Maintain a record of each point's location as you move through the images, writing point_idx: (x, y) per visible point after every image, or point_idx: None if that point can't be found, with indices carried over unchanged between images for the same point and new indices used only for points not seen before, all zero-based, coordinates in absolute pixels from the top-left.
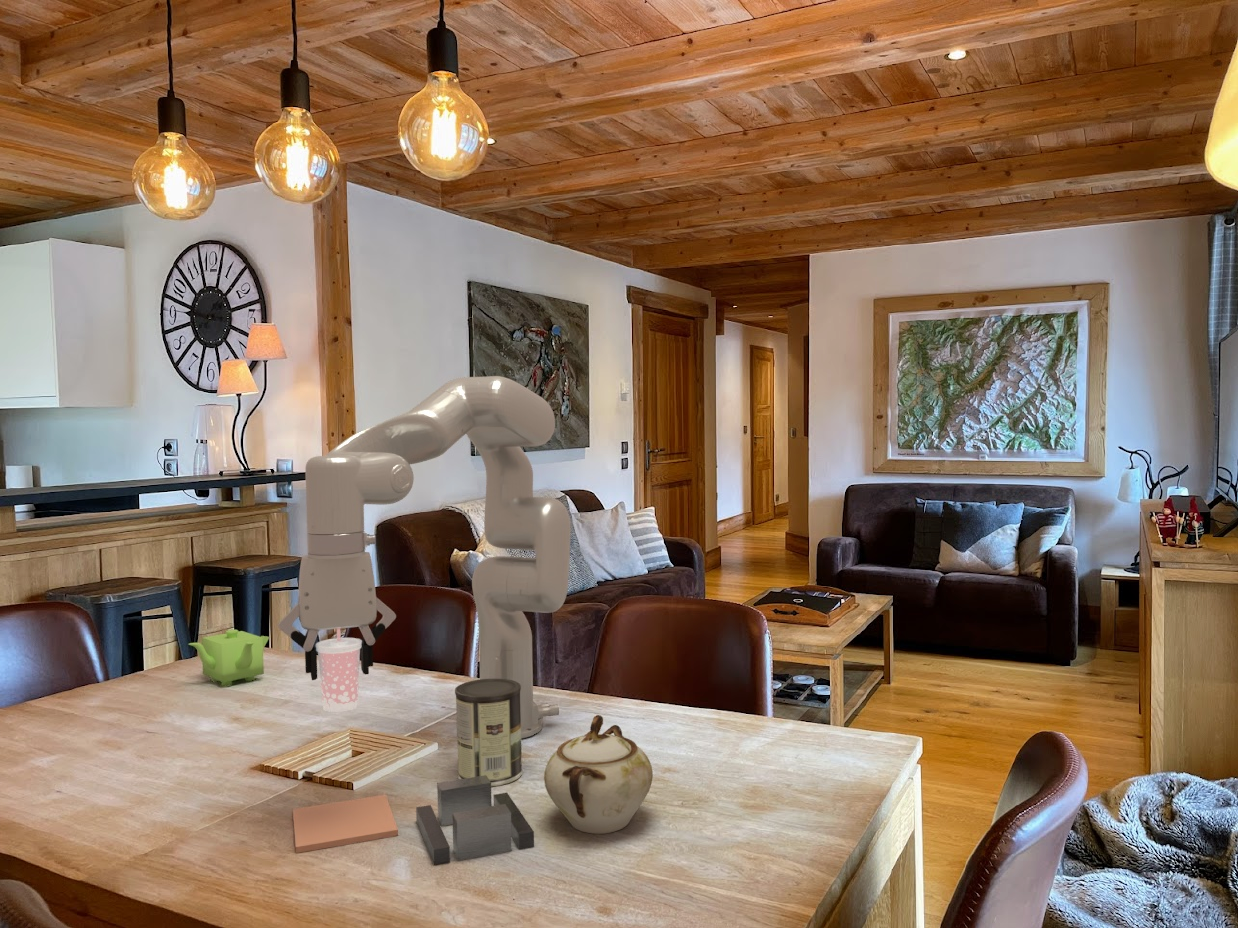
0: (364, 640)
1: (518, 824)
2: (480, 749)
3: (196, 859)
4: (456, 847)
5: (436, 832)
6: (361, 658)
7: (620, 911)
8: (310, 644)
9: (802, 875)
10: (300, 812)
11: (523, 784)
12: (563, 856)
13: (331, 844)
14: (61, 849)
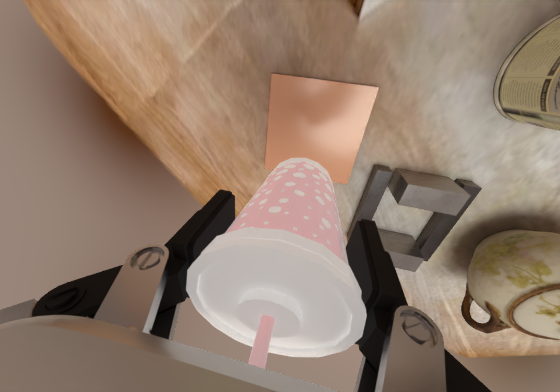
0: (363, 353)
1: (427, 247)
2: (548, 121)
3: (195, 134)
4: None
5: None
6: (358, 253)
7: None
8: (167, 309)
9: (513, 348)
10: (277, 89)
11: (549, 135)
12: (426, 271)
13: None
14: (78, 42)
